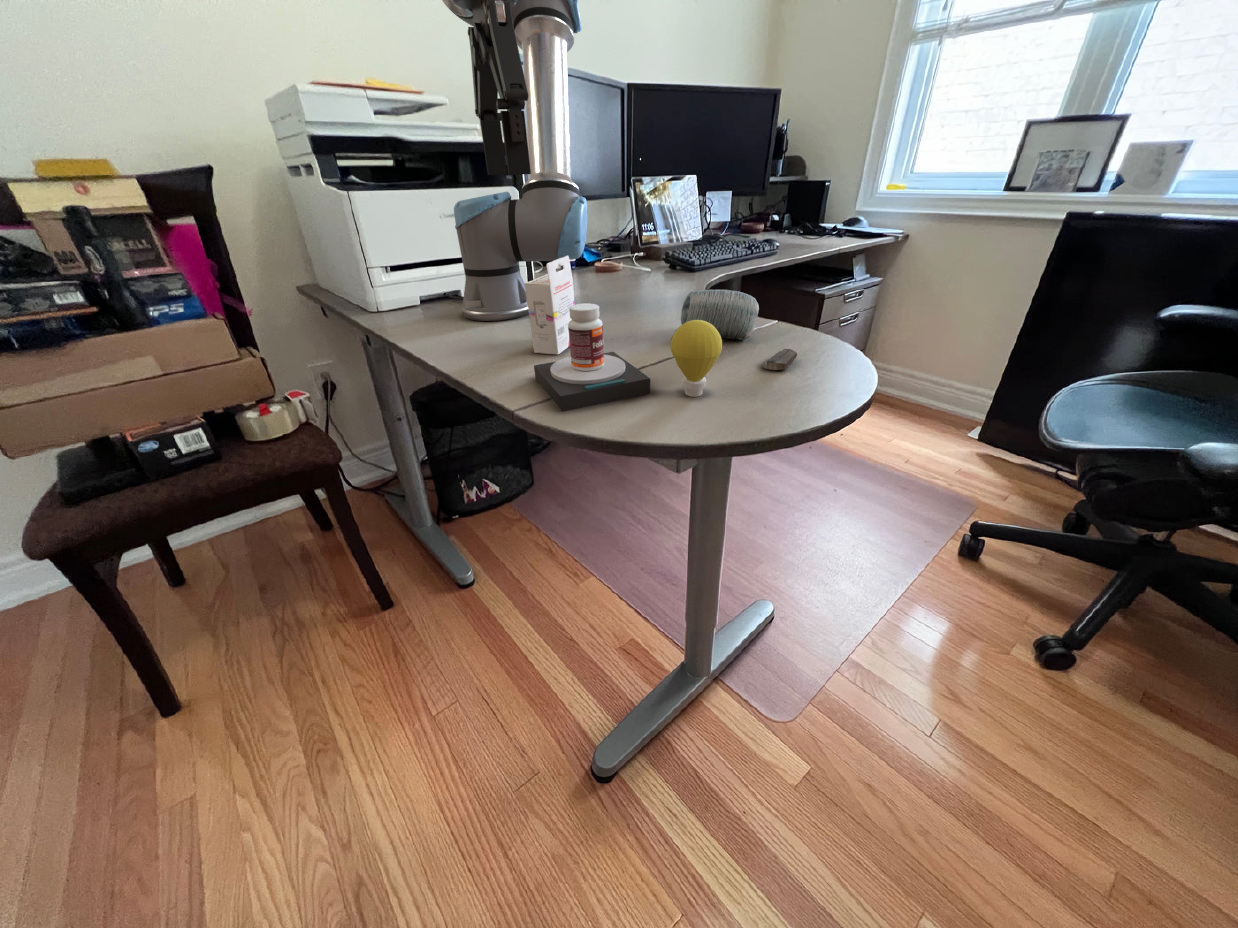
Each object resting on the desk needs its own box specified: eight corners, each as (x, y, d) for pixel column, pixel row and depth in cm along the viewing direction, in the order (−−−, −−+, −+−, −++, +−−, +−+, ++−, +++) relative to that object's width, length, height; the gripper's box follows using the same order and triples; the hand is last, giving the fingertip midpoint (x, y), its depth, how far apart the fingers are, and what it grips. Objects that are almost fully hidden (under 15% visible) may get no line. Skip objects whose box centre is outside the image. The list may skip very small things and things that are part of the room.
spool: (665, 322, 87) (690, 267, 84) (681, 333, 95) (704, 283, 93) (734, 351, 82) (762, 294, 80) (744, 360, 91) (770, 308, 88)
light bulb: (660, 390, 69) (661, 319, 64) (698, 380, 72) (702, 311, 67) (688, 407, 64) (692, 331, 59) (728, 396, 67) (735, 322, 62)
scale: (535, 379, 74) (533, 361, 73) (614, 364, 79) (613, 347, 77) (561, 411, 64) (559, 391, 63) (650, 393, 68) (650, 374, 67)
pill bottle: (600, 372, 68) (597, 311, 64) (567, 371, 69) (562, 310, 65) (607, 361, 72) (605, 302, 68) (576, 359, 73) (572, 302, 69)
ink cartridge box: (554, 338, 92) (545, 254, 84) (578, 340, 90) (571, 254, 83) (532, 353, 85) (520, 262, 77) (558, 355, 83) (548, 263, 76)
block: (797, 361, 77) (799, 350, 76) (783, 373, 73) (785, 361, 72) (774, 357, 79) (776, 346, 78) (760, 368, 75) (761, 357, 74)
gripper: (541, -82, 47) (562, 173, 58) (491, -7, 67) (513, 173, 78) (462, -93, 45) (499, 176, 56) (434, -11, 65) (465, 175, 76)
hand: (507, 175), depth 67 cm, fingers open, 13 cm apart
